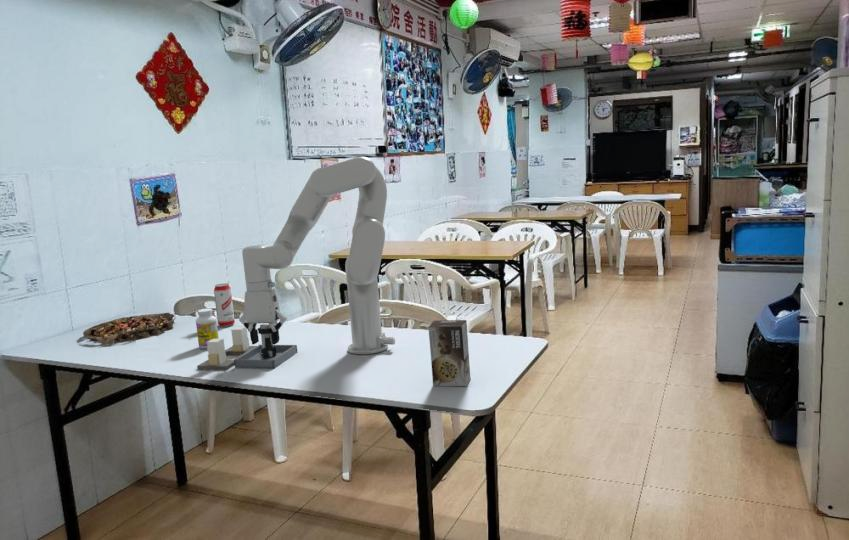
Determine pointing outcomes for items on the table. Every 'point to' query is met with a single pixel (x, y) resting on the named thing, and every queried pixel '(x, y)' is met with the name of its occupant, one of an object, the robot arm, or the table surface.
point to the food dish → (130, 328)
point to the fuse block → (219, 353)
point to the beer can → (224, 305)
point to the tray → (271, 362)
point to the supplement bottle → (206, 327)
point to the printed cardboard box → (449, 353)
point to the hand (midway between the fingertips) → (265, 342)
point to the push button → (266, 341)
